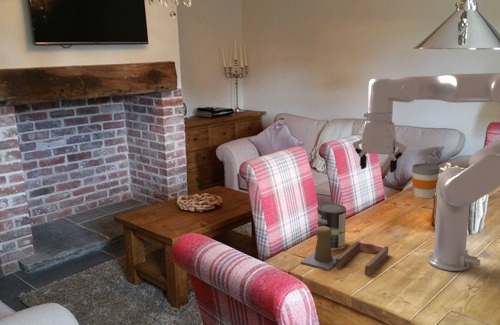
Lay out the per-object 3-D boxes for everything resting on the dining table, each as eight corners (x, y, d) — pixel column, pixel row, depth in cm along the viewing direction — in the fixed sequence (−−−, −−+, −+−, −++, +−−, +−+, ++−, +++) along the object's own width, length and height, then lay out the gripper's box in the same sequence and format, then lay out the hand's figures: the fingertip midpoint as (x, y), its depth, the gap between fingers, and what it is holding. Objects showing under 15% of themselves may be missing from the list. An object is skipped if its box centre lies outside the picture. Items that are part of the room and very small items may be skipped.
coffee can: (325, 252, 159) (326, 213, 156) (311, 241, 169) (312, 205, 166) (351, 247, 163) (352, 209, 160) (335, 237, 172) (336, 202, 169)
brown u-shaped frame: (388, 255, 156) (388, 247, 155) (368, 275, 141) (368, 266, 140) (357, 248, 162) (357, 240, 161) (335, 267, 147) (335, 258, 147)
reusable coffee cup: (418, 191, 232) (420, 162, 228) (442, 196, 222) (444, 166, 219) (405, 196, 224) (407, 166, 220) (429, 201, 214) (431, 170, 211)
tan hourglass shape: (330, 254, 156) (331, 224, 153) (333, 262, 150) (334, 230, 147) (313, 254, 156) (313, 224, 153) (315, 262, 150) (315, 230, 147)
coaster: (341, 259, 153) (341, 257, 153) (328, 270, 145) (328, 268, 145) (314, 252, 159) (314, 251, 159) (300, 263, 151) (300, 261, 151)
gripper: (349, 117, 147) (348, 169, 150) (403, 120, 137) (400, 175, 140) (358, 115, 153) (357, 165, 156) (411, 117, 143) (408, 170, 146)
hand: (377, 170), depth 148 cm, fingers open, 9 cm apart
